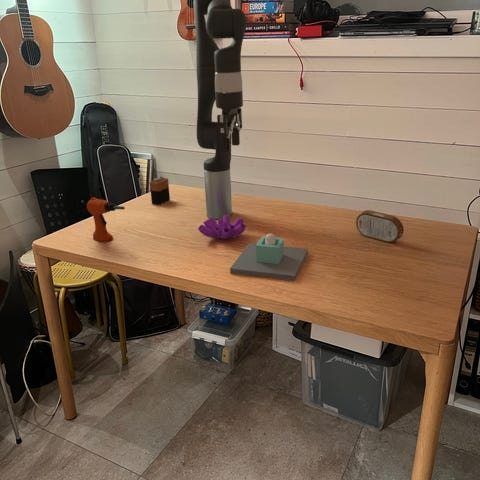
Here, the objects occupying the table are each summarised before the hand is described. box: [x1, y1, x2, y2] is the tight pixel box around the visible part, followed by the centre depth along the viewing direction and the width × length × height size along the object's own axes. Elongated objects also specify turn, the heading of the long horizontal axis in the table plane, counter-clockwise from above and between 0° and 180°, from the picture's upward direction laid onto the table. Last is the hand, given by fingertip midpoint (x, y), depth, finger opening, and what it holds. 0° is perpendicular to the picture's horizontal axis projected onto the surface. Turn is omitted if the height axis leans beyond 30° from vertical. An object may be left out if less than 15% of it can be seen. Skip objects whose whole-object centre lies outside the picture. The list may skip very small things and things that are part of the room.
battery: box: [149, 175, 171, 206], centre depth 190 cm, size 4×7×10 cm, turn 152°
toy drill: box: [86, 197, 126, 243], centre depth 153 cm, size 5×18×14 cm, turn 53°
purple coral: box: [197, 215, 247, 240], centre depth 155 cm, size 11×15×10 cm
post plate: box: [229, 233, 309, 282], centre depth 136 cm, size 18×18×9 cm
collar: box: [256, 236, 285, 264], centre depth 136 cm, size 6×6×5 cm
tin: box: [355, 209, 404, 244], centre depth 150 cm, size 15×3×8 cm, turn 47°
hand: (231, 148), depth 139 cm, fingers open, 8 cm apart
